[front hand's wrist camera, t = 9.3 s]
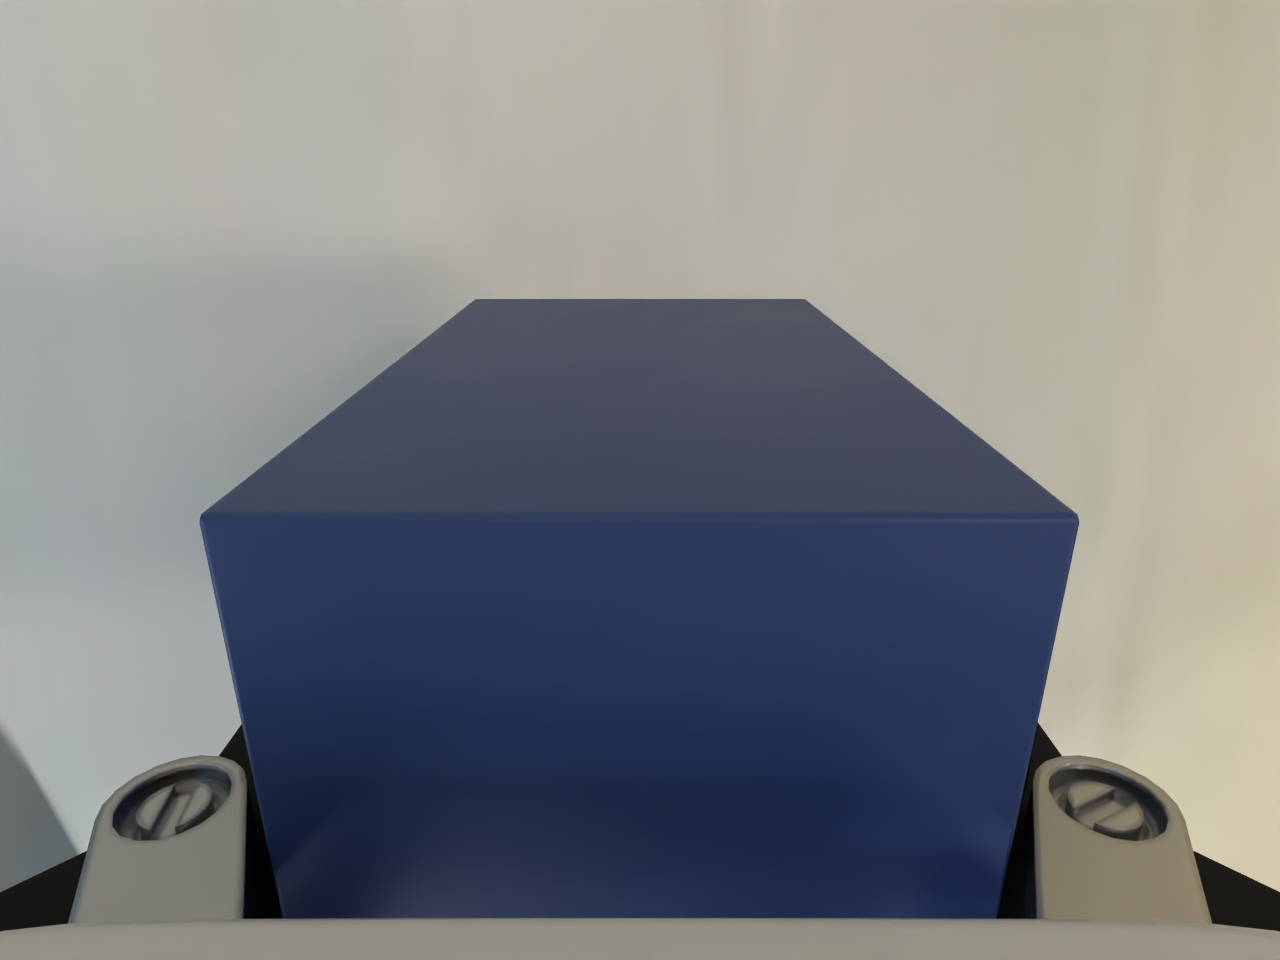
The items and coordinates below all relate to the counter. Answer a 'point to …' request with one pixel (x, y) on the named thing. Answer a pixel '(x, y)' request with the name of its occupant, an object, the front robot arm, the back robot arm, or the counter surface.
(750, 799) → the block
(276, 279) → the counter surface
